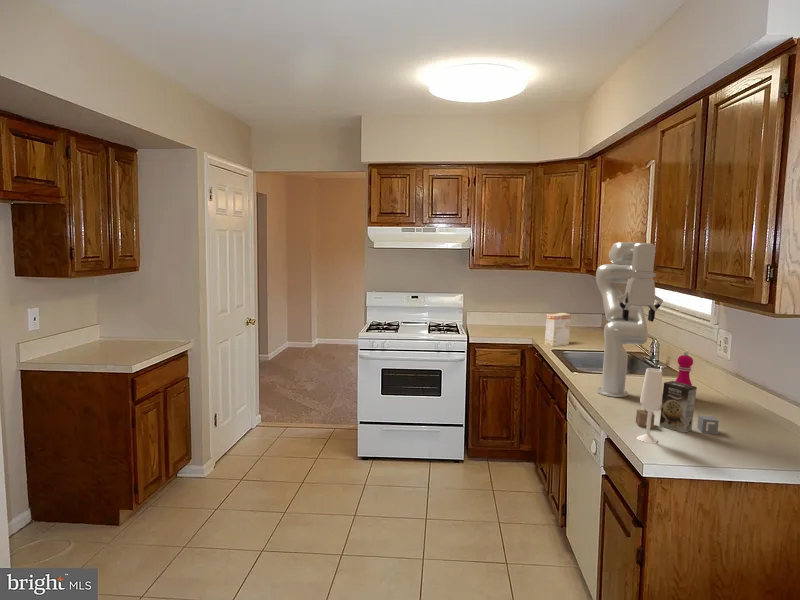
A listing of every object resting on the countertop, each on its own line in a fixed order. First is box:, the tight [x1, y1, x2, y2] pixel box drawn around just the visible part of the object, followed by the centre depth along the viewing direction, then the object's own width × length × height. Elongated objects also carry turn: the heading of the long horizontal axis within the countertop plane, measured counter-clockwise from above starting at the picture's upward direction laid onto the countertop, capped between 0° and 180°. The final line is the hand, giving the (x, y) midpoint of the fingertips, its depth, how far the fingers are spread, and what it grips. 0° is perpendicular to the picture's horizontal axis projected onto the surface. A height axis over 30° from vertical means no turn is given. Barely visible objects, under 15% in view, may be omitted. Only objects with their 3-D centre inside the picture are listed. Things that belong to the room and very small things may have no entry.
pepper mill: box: [675, 351, 694, 386], centre depth 240 cm, size 7×7×20 cm
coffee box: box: [659, 380, 698, 434], centre depth 200 cm, size 9×6×16 cm
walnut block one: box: [635, 408, 655, 429], centre depth 202 cm, size 5×5×6 cm
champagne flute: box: [636, 367, 663, 444], centre depth 186 cm, size 7×7×24 cm
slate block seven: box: [696, 414, 720, 435], centre depth 198 cm, size 5×5×5 cm
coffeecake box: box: [544, 312, 572, 347], centre depth 347 cm, size 15×7×20 cm, turn 123°
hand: (638, 320), depth 213 cm, fingers open, 9 cm apart
